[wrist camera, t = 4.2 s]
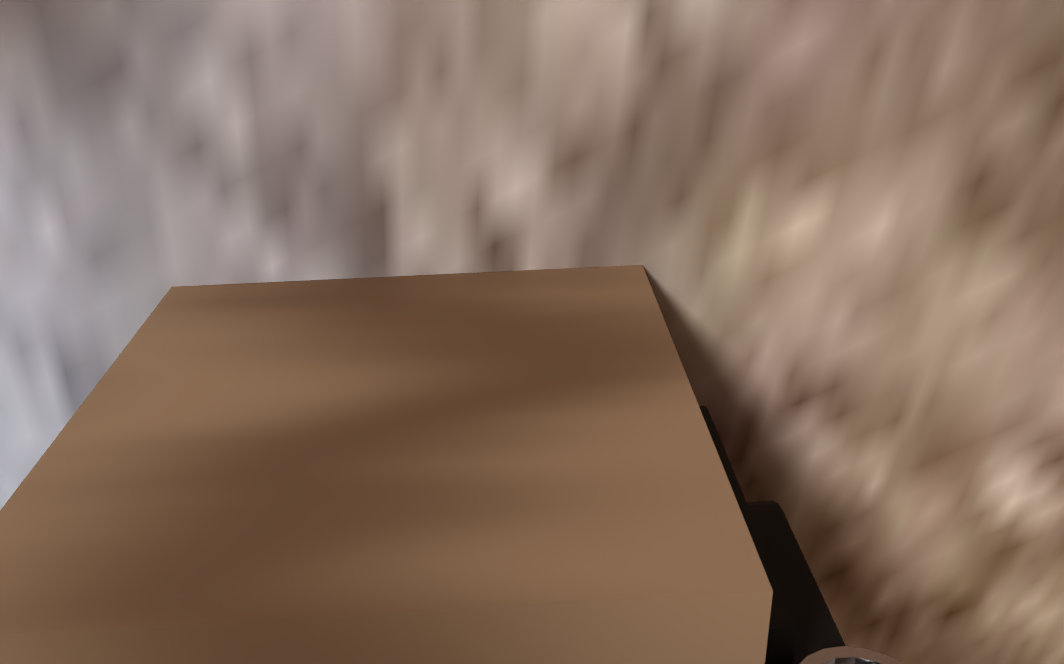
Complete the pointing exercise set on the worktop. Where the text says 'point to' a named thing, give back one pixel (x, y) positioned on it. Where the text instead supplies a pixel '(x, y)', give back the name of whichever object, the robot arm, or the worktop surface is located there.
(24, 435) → the worktop surface
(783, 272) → the worktop surface
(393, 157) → the worktop surface
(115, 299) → the worktop surface
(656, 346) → the walnut block
